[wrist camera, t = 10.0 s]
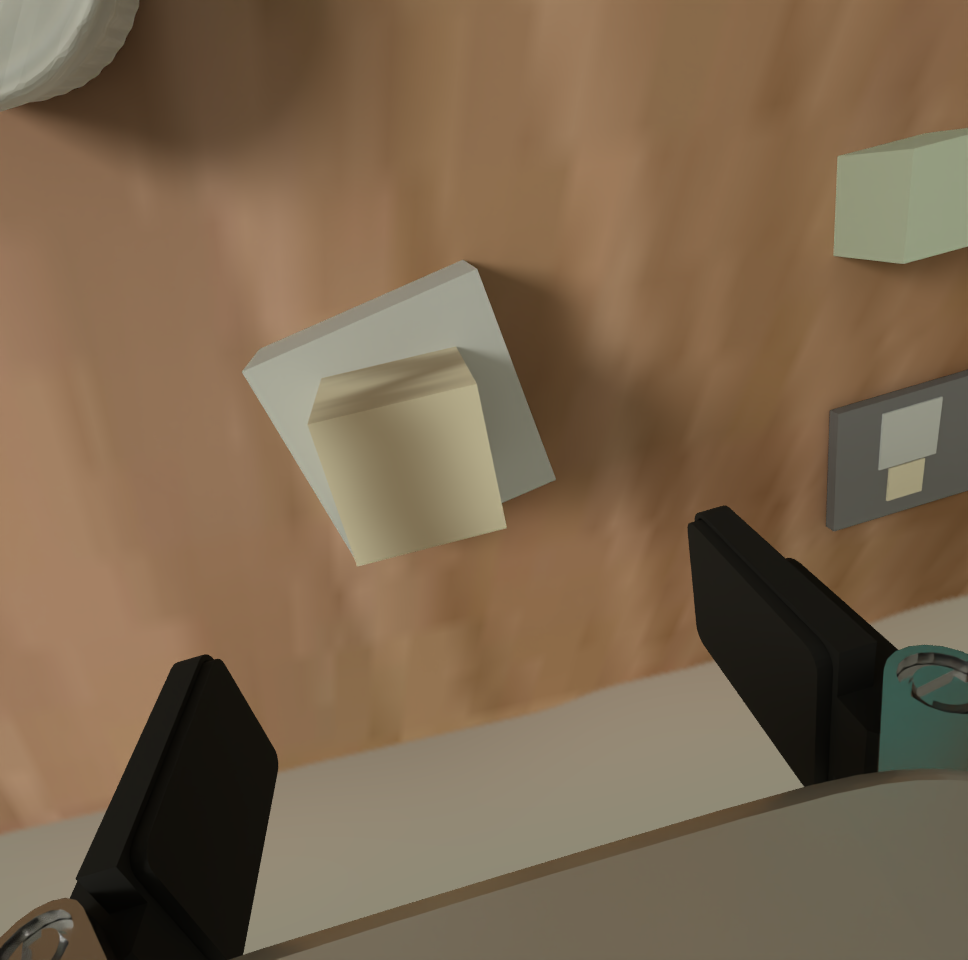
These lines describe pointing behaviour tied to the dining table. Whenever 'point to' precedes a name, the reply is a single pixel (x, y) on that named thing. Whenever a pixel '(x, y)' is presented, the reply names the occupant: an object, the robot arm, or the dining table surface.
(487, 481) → the cream cube
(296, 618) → the dining table surface
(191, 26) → the dining table surface
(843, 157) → the sage cube
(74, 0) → the ramekin
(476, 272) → the grey base block
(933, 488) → the card
